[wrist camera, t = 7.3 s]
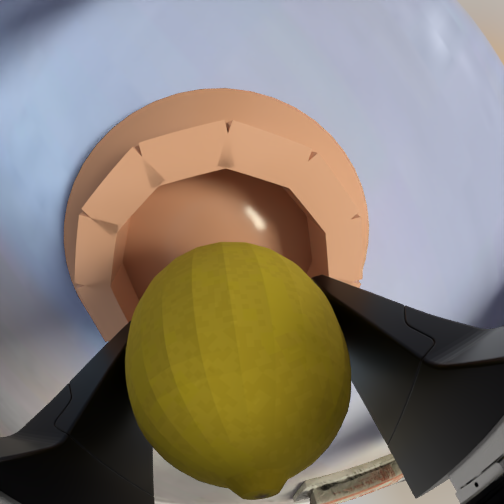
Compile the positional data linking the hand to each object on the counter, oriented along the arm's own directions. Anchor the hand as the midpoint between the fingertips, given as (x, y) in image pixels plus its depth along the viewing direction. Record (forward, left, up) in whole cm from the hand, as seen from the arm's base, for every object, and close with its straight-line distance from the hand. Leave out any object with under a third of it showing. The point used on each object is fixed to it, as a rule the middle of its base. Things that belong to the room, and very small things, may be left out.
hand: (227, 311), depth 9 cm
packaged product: (-9, +42, -5) cm, 43 cm away
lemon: (0, 0, -2) cm, 2 cm away
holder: (0, 0, -4) cm, 4 cm away
